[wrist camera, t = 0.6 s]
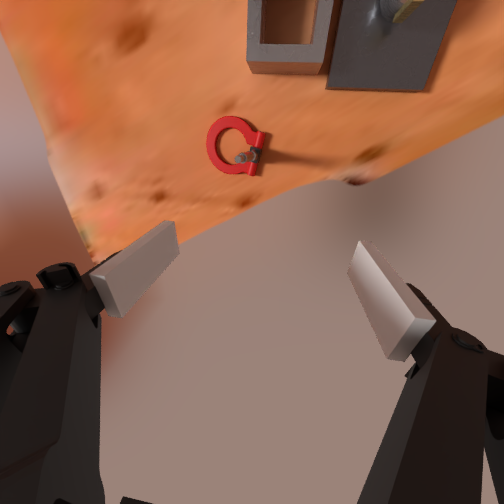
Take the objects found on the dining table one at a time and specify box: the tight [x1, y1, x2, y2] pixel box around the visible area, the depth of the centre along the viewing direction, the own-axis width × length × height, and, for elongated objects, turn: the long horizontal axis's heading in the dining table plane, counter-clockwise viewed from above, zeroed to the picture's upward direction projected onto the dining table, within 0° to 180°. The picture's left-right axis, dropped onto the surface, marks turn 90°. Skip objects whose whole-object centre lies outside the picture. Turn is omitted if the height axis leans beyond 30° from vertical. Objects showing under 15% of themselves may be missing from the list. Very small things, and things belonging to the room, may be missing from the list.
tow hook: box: [206, 116, 265, 176], centre depth 28 cm, size 8×13×9 cm
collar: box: [246, 0, 334, 75], centre depth 23 cm, size 9×9×5 cm
